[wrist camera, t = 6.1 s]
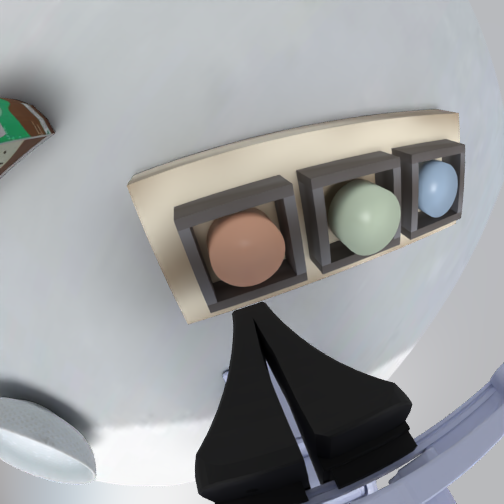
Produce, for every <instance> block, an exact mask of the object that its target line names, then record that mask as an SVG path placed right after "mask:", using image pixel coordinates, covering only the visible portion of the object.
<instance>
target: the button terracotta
mask: <svg viewBox="0 0 504 504" xmlns="http://www.w3.org/2000/svg"><path fill="white" fill-rule="evenodd" d="M206 244H207V249H208V254H209V258H210V262H211V266H212V268H213V270H214V272H215V274H216V275H217V276H218V277H219V278H220V279H221V280H222V281H224V282H226V283H228V284H230V285H233V286H239V287H247V286H253V285H257V284H259V283H262V282H263V281H265V280H267V279H268V278H270V277H271V276H272V275H273V274H274V273H275V272H276V271H277V270H278V268H279V267H280V265H281V263H282V261H283V259H284V255H285V242H284V238H283V236H282V234H281V232H280V231H279V230H278V228H277V227H276V226H275V225H274V223H273V222H272V221H271V220H270V218H269V217H268V216H267V215H266V214H265V213H263V212H262V211H260V210H258V209H256V208H253V207H252V208H249V209H246V210H243V211H239V212H236V213H233V214H230V215H227V216H223V217H220V218H217V219H215V220H214V221H213V223H212V224H211V226H210V228H209V230H208V233H207V238H206Z"/></svg>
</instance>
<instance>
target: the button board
mask: <svg viewBox="0 0 504 504" xmlns="http://www.w3.org/2000/svg"><path fill="white" fill-rule="evenodd" d="M432 159H436V160H439V161H442V162H445V163H447V164H450V165H451V166H452V167H453V168H454V170H455V172H456V174H457V179H458V188H457V193H456V197H455V200H454V202H453V204H452V206H451V207H450V209H449V210H448V211H447V212H446V213H445V214H444V215H442V216H440V217H436V218H435V217H431V216H430V215H428V214H426V213H424V212H423V211H421V210H419V209H418V197H419V167H418V163H419V162H424V161H428V160H432ZM464 173H465V145H464V144H461V143H460V131H459V113H455V112H449V111H444V110H438V109H433V110H418V111H405V112H395V113H385V114H376V115H369V116H361V117H354V118H347V119H341V120H335V121H329V122H323V123H318V124H312V125H307V126H302V127H297V128H292V129H288V130H283V131H279V132H274V133H270V134H266V135H262V136H257V137H253V138H249V139H246V140H242V141H238V142H234V143H231V144H227V145H223V146H220V147H216V148H213V149H210V150H206V151H203V152H200V153H196V154H193V155H190V156H187V157H184V158H181V159H178V160H175V161H172V162H169V163H166V164H163V165H160V166H157V167H155V168H152V169H149V170H146V171H144V172H141V173H138V174H136V175H133V177H132V178H131V180H130V181H129V183H128V185H127V187H128V190H129V193H130V195H131V198H132V201H133V203H134V206H135V208H136V211H137V213H138V216H139V218H140V221H141V223H142V226H143V228H144V231H145V233H146V235H147V238H148V240H149V242H150V245H151V247H152V249H153V252H154V254H155V256H156V258H157V261H158V263H159V265H160V267H161V270H162V272H163V274H164V276H165V278H166V280H167V283H168V285H169V287H170V289H171V291H172V293H173V295H174V297H175V299H176V301H177V303H178V305H179V307H180V309H181V311H182V313H183V315H184V317H185V319H186V321H187V323H188V324H191V323H194V322H198V321H201V320H204V319H207V318H210V317H214V316H217V315H220V314H223V313H226V312H229V311H232V310H235V309H238V308H241V307H244V306H247V305H250V304H253V303H256V302H259V301H262V300H265V299H268V298H271V297H273V296H276V295H279V294H282V293H285V292H288V291H290V290H293V289H296V288H299V287H302V286H304V285H307V284H310V283H312V282H315V281H318V280H321V279H323V278H326V277H329V276H331V275H334V274H336V273H339V272H342V271H344V270H347V269H349V268H352V267H354V266H357V265H360V264H362V263H365V262H367V261H370V260H372V259H375V258H377V257H380V256H382V255H384V254H387V253H389V252H392V251H394V250H397V249H399V248H401V247H404V246H406V245H408V244H411V243H413V242H415V241H418V240H420V239H422V238H425V237H427V236H429V235H432V234H434V233H436V232H438V231H441V230H443V229H445V228H447V227H450V226H452V225H454V224H456V220H458V219H460V218H461V213H462V203H463V191H464ZM361 179H362V180H367V181H370V182H372V183H374V184H376V185H378V186H380V187H382V188H384V189H386V190H388V191H390V192H392V193H393V194H394V195H395V196H396V198H397V200H398V202H399V205H400V211H401V216H400V223H399V226H398V229H397V231H396V233H395V235H394V237H393V238H392V240H391V241H390V242H389V243H388V245H386V246H385V247H384V248H383V249H382V250H380V251H378V252H377V253H374V254H371V255H365V256H363V255H358V254H356V253H354V252H352V251H351V250H350V249H349V248H348V247H347V246H346V245H344V244H343V243H342V242H341V241H340V240H339V239H338V238H337V237H336V236H335V235H334V234H333V233H332V231H331V229H330V226H329V222H328V212H329V207H330V204H331V202H332V200H333V198H334V196H335V195H336V193H337V192H338V191H339V190H340V189H341V188H342V187H343V186H344V185H346V184H347V183H349V182H351V181H354V180H361ZM252 207H253V208H256V209H258V210H260V211H262V212H263V213H265V214H266V215H267V216H268V217H269V218H270V220H271V221H272V222H273V223H274V225H275V226H276V227H277V228H278V230H279V231H280V232H281V234H282V236H283V238H284V242H285V255H284V259H283V261H282V263H281V265H280V267H279V268H278V270H277V271H276V272H275V273H274V274H273V275H272V276H271V277H270V278H268V279H267V280H265V281H263V282H262V283H259V284H257V285H253V286H247V287H239V286H233V285H230V284H228V283H226V282H224V281H222V280H221V279H220V278H219V277H218V276H217V275H216V274H215V272H214V270H213V268H212V266H211V262H210V258H209V254H208V249H207V244H206V238H207V233H208V230H209V228H210V226H211V224H212V223H213V221H214V220H215V219H217V218H220V217H223V216H227V215H230V214H233V213H236V212H239V211H243V210H246V209H249V208H252Z"/></svg>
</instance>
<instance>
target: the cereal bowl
mask: <svg viewBox="0 0 504 504" xmlns="http://www.w3.org/2000/svg"><path fill="white" fill-rule="evenodd" d="M0 459H1V460H3V461H4V462H6V463H8V464H10V465H12V466H13V467H15V468H18V469H20V470H22V471H24V472H26V473H29V474H31V475H34V476H37V477H39V478H43V479H46V480H50V481H54V482H59V483H65V484H75V485H76V484H77V485H79V484H88V483H91V482H93V481H94V480H95V479H96V464H95V458H94V454H93V452H92V449H91V447H90V445H89V444H88V442H87V441H86V439H85V438H84V437H83V435H82V434H81V433H80V432H79V431H78V430H76V429H75V428H74V427H73V426H72V425H71V424H69V423H68V422H66V421H65V420H63V419H62V418H60V417H58V416H57V415H56V414H55V413H53V412H52V411H50V410H49V409H47V408H45V407H43V406H41V405H39V404H36V403H34V402H31V401H27V400H20V399H19V400H17V399H12V398H4V397H1V398H0Z"/></svg>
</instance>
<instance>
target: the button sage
mask: <svg viewBox="0 0 504 504" xmlns="http://www.w3.org/2000/svg"><path fill="white" fill-rule="evenodd" d="M400 216H401V211H400V205H399V202H398V200H397V198H396V196H395V195H394V194H393V193H392V192H390V191H388V190H386V189H384V188H382V187H380V186H378V185H376V184H374V183H372V182H370V181H367V180H362V179H361V180H354V181H351V182H349V183H347V184H346V185H344V186H343V187H342V188H341V189H340V190H339V191H338V192H337V193H336V195H335V196H334V198H333V200H332V202H331V204H330V207H329V212H328V222H329V226H330V229H331V231H332V233H333V234H334V235H335V236H336V237H337V238H338V239H339V240H340V241H341V242H342V243H343V244H344V245H346V246H347V247H348V248H349V249H350V250H351V251H352V252H354V253H356V254H358V255H363V256H365V255H371V254H374V253H377V252H378V251H380V250H382V249H383V248H384V247H385V246H386V245H388V243H389V242H390V241H391V240H392V238H393V237H394V235H395V233H396V231H397V229H398V226H399V223H400Z"/></svg>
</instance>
